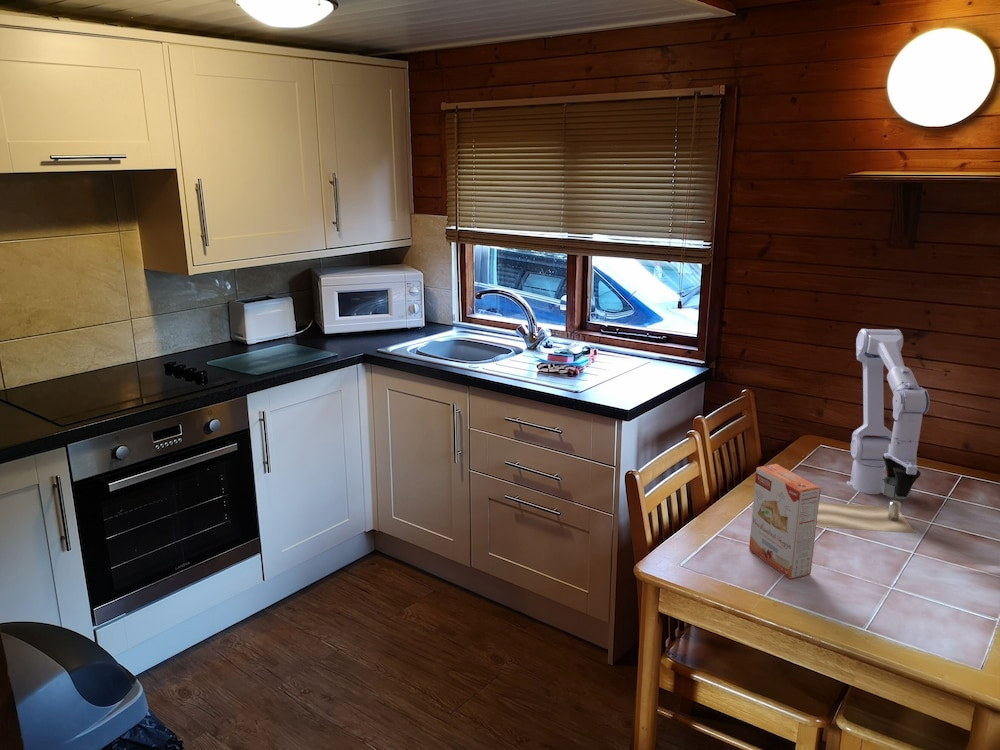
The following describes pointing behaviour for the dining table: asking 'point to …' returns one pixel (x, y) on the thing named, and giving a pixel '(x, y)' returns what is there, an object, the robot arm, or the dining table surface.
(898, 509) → the steel post
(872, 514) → the board
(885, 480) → the ring hub
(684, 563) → the dining table surface
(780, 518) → the cracker box
